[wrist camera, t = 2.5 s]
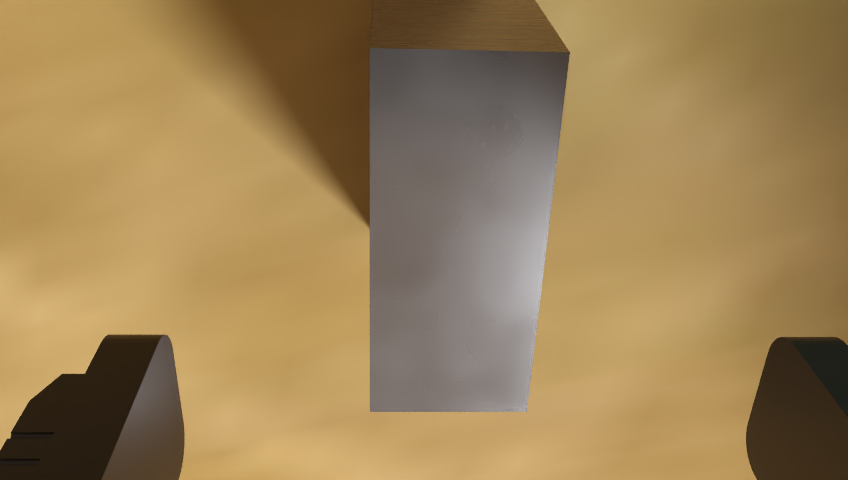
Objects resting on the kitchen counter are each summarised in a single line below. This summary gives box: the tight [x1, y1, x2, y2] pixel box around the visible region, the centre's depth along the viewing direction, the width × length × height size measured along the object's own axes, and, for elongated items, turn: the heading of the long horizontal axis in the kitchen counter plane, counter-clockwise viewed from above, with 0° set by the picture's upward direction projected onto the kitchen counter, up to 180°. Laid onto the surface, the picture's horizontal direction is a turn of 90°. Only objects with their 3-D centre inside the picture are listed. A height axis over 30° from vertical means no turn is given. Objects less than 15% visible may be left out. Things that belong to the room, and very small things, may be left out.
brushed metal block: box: [369, 0, 570, 412], centre depth 17 cm, size 7×3×7 cm, turn 178°
